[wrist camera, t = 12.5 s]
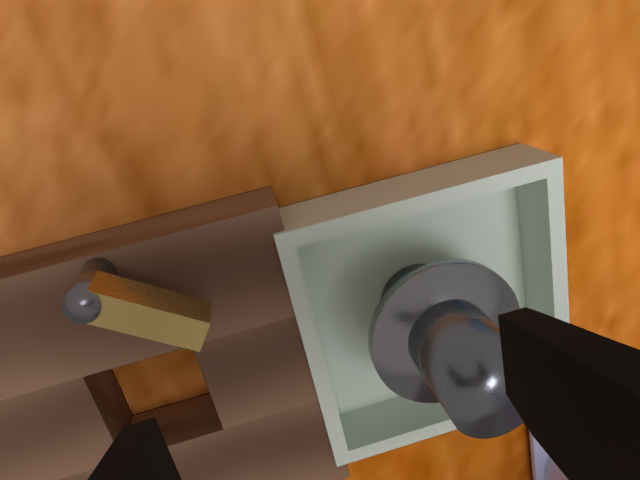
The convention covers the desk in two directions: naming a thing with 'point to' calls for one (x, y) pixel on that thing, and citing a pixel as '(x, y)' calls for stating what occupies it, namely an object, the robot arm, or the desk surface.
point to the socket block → (163, 352)
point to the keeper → (136, 307)
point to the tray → (407, 249)
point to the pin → (446, 342)
